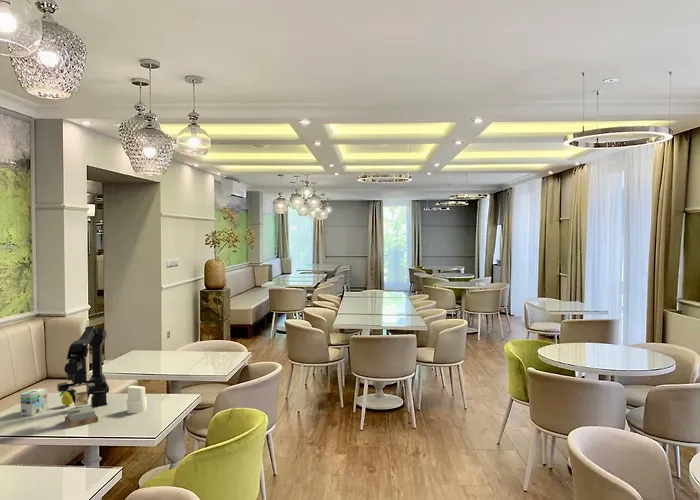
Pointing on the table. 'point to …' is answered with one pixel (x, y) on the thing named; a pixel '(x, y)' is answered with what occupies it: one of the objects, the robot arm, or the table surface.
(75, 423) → the walnut slab
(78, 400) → the oak cube
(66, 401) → the lemon
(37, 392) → the light bulb box
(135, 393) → the cylinder with rectangular tab
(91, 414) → the slate slab
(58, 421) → the table surface
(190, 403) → the table surface
